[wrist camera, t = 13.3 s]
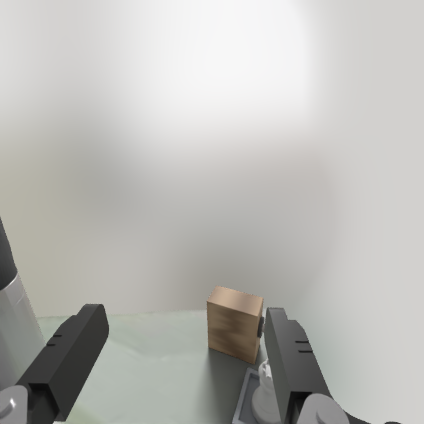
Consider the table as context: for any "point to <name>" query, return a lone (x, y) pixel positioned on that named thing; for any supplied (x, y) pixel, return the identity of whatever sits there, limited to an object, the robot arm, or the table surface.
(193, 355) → the table surface
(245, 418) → the tray
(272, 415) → the rook chess piece
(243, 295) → the block
